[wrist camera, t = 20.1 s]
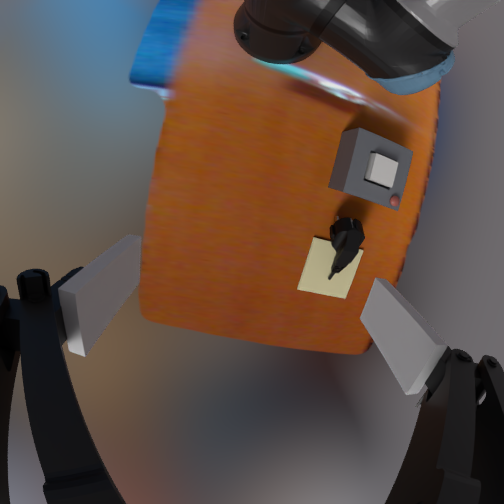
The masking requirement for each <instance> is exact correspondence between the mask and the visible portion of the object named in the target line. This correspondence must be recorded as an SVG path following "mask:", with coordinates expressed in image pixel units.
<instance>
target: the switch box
mask: <svg viewBox="0 0 504 504" xmlns="http://www.w3.org/2000/svg"><path fill="white" fill-rule="evenodd" d="M370 153H377V154H380V155H382V156H385V157H387V158H389V159H391V160H394V161H396V162H398V167H397V171H396V175H395V179H394V182H393V186H392V188H391V187H386V186H382V185H379V184H376V183H373V182H371V181H368V180H365V179H364V175H365V172H366V168H367V164H368V160H369V156H370ZM412 155H413V151H411V150H409V149H407V148H405V147H403V146H401V145H399V144H396V143H394V142H392V141H390V140H388V139H386V138H383V137H381V136H379V135H376V134H374V133H372V132H369V131H367V130H364V129H362V128H360V127H359V128H356V129H352V130H348V131H344V132H342V136H341V140H340V144H339V148H338V152H337V156H336V159H335V163H334V167H333V171H332V175H331V178H330V182H329V186H328V187H329V188H333V189H336V190H339V191H342V192H345V193H348V194H351V195H354V196H357V197H360V198H363V199H366V200H369V201H372V202H374V203H377V204H380V205H383V206H386V207H388V208H391V209H394V210H396V211H398V209H399V205H400V202H401V198H402V195H403V191H404V187H405V184H406V180H407V176H408V172H409V168H410V163H411V159H412Z"/></svg>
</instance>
